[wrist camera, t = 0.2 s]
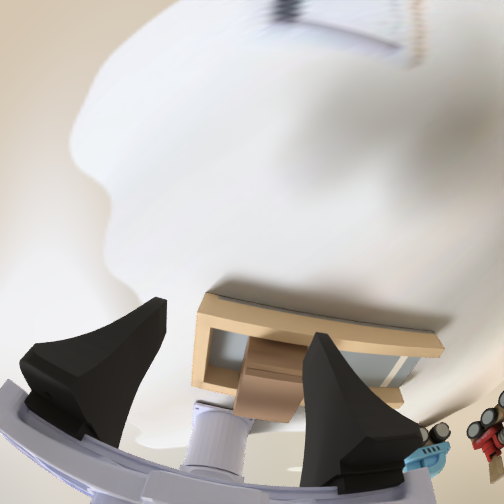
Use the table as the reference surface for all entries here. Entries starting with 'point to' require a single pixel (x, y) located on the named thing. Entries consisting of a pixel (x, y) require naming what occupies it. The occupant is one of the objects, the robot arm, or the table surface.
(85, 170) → the table surface
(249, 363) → the box
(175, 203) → the table surface
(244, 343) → the bay
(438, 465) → the toy excavator
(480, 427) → the toy fire truck
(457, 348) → the table surface
